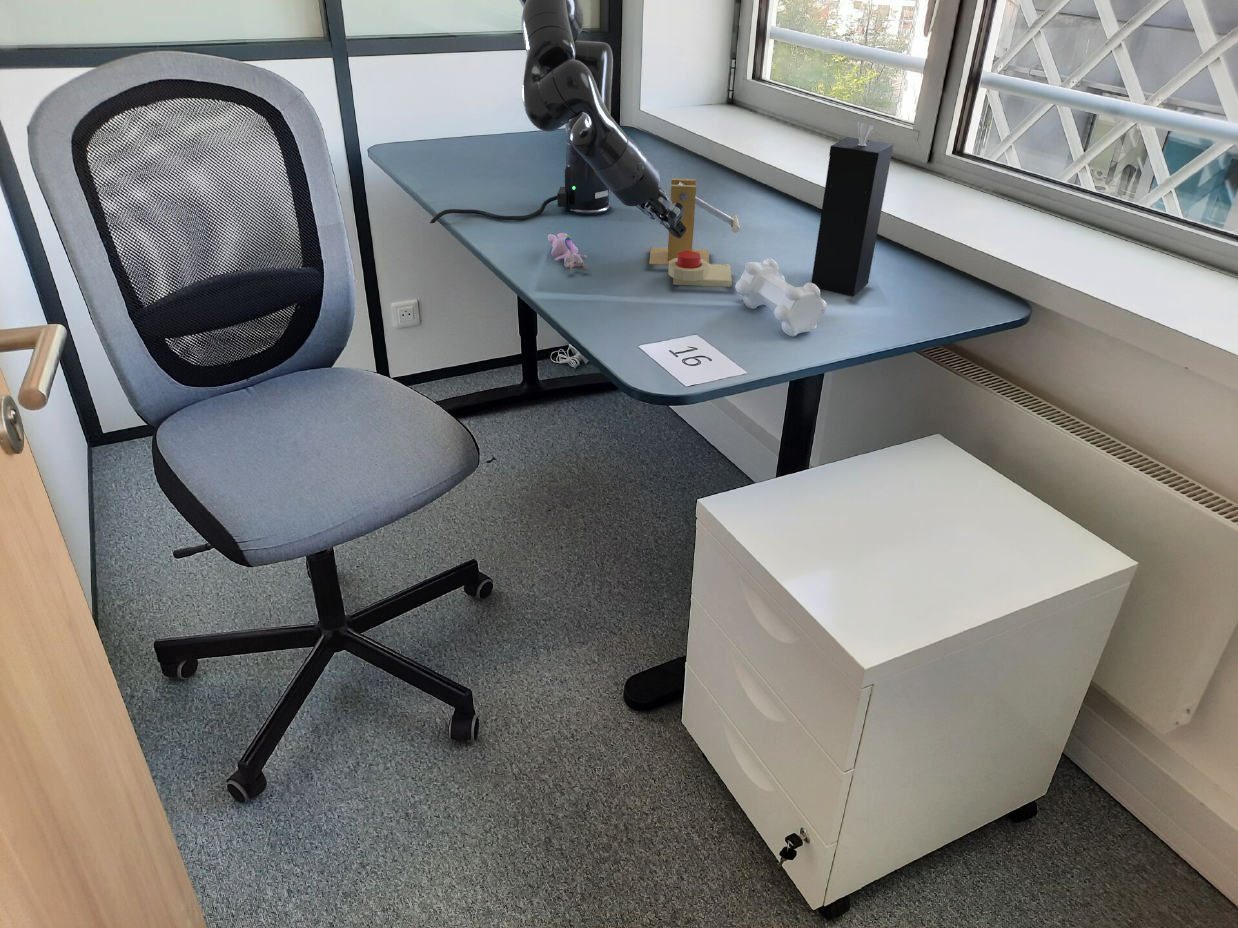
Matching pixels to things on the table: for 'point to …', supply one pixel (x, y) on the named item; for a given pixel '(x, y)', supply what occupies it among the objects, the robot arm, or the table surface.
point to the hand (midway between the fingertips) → (680, 233)
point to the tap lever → (718, 213)
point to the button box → (701, 274)
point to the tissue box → (851, 212)
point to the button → (689, 259)
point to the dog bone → (781, 297)
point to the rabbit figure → (566, 250)
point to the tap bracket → (687, 199)
